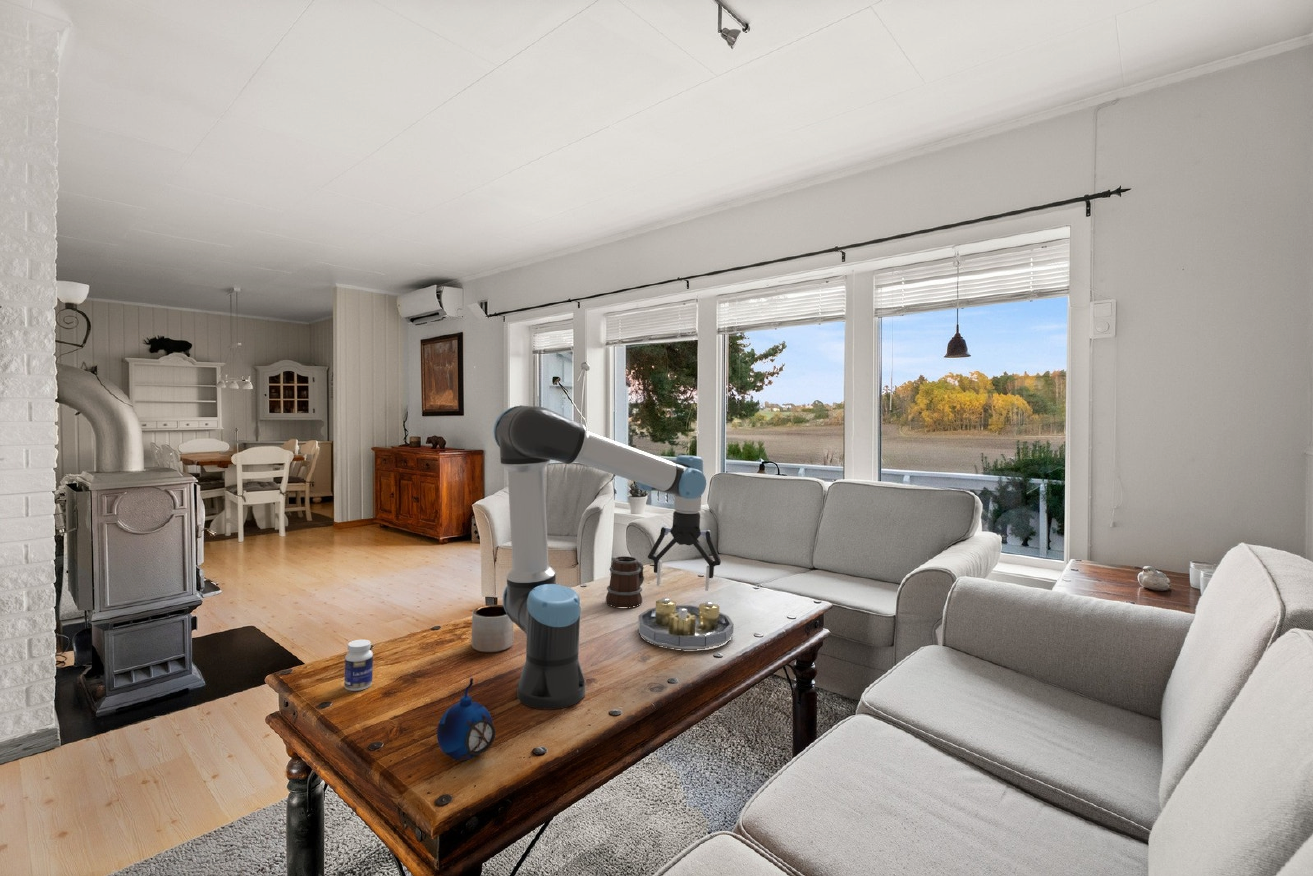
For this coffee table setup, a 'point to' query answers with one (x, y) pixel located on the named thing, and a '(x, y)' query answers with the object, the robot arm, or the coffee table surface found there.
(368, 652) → the pill bottle
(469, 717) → the bomb
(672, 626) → the planet gear
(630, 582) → the mug
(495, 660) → the coffee table surface
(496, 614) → the planter
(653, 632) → the carrier
